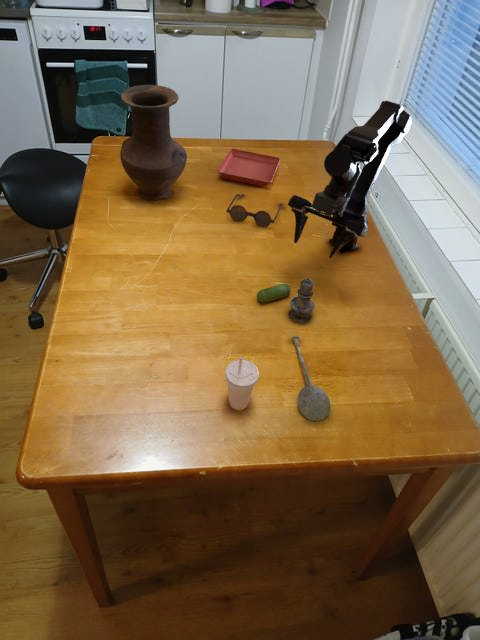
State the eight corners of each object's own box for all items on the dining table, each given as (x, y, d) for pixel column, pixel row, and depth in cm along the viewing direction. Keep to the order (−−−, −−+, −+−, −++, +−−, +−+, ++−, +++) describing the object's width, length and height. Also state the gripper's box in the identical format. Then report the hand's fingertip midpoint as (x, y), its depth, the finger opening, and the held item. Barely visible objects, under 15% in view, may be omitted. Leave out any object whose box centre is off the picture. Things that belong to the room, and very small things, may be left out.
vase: (111, 189, 152) (99, 89, 130) (162, 171, 162) (159, 76, 140) (147, 217, 142) (140, 114, 121) (199, 197, 152) (201, 99, 131)
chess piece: (310, 326, 116) (320, 288, 107) (286, 321, 116) (294, 283, 108) (313, 309, 120) (322, 271, 111) (289, 304, 120) (297, 267, 112)
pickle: (285, 289, 125) (287, 279, 122) (292, 297, 123) (294, 287, 120) (253, 298, 121) (255, 288, 119) (260, 306, 119) (261, 296, 117)
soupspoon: (299, 424, 97) (331, 423, 98) (303, 415, 94) (335, 414, 96) (281, 340, 112) (308, 339, 113) (283, 330, 109) (312, 330, 110)
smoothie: (221, 389, 101) (225, 344, 91) (252, 389, 101) (259, 344, 91) (223, 416, 96) (227, 371, 86) (255, 415, 97) (263, 371, 87)
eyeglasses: (225, 219, 145) (226, 204, 141) (240, 194, 155) (241, 180, 152) (273, 230, 143) (275, 215, 139) (284, 205, 153) (286, 190, 149)
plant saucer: (279, 165, 171) (281, 156, 168) (270, 191, 158) (271, 181, 156) (229, 156, 173) (230, 147, 170) (216, 180, 160) (217, 171, 158)
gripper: (295, 164, 107) (267, 230, 110) (374, 193, 101) (342, 262, 104) (307, 177, 118) (281, 237, 120) (380, 204, 111) (350, 267, 114)
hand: (312, 250), depth 114 cm, fingers open, 9 cm apart
